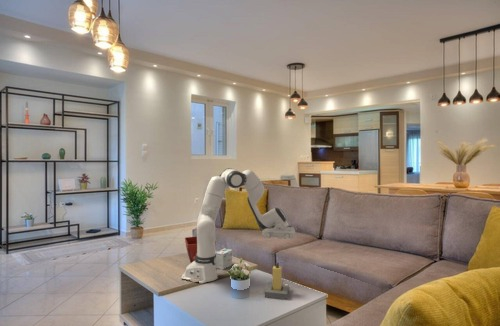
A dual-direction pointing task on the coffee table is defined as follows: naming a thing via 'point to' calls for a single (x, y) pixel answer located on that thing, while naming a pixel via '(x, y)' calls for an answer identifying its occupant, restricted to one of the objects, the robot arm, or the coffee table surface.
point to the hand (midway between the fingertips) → (277, 236)
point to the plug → (277, 277)
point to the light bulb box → (224, 258)
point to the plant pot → (192, 247)
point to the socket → (277, 292)
